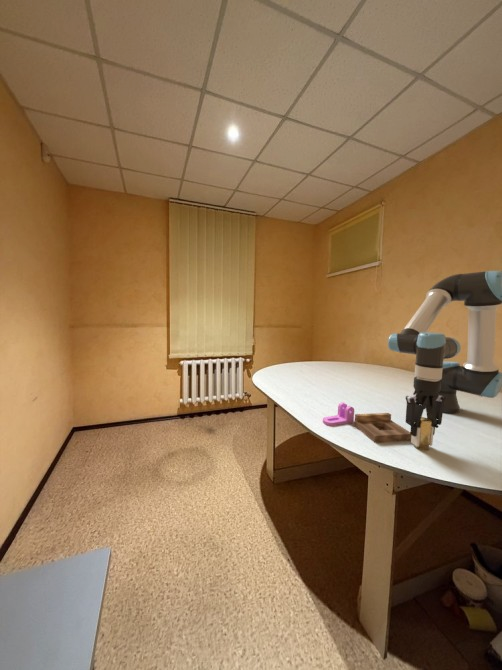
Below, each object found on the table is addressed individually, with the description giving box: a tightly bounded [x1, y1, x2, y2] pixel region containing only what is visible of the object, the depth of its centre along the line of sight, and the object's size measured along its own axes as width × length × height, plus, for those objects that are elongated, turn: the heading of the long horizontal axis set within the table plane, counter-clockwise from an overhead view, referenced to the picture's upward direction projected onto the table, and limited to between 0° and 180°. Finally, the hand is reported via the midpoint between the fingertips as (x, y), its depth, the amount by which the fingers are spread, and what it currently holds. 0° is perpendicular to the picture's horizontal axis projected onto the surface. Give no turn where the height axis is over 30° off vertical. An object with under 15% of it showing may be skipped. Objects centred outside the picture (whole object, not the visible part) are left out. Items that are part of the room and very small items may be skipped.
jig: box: [353, 412, 411, 443], centre depth 95 cm, size 15×13×5 cm
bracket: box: [322, 402, 355, 427], centre depth 104 cm, size 13×6×7 cm, turn 111°
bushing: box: [413, 416, 432, 452], centre depth 85 cm, size 4×4×10 cm
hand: (421, 443), depth 85 cm, fingers closed on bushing, 4 cm apart
